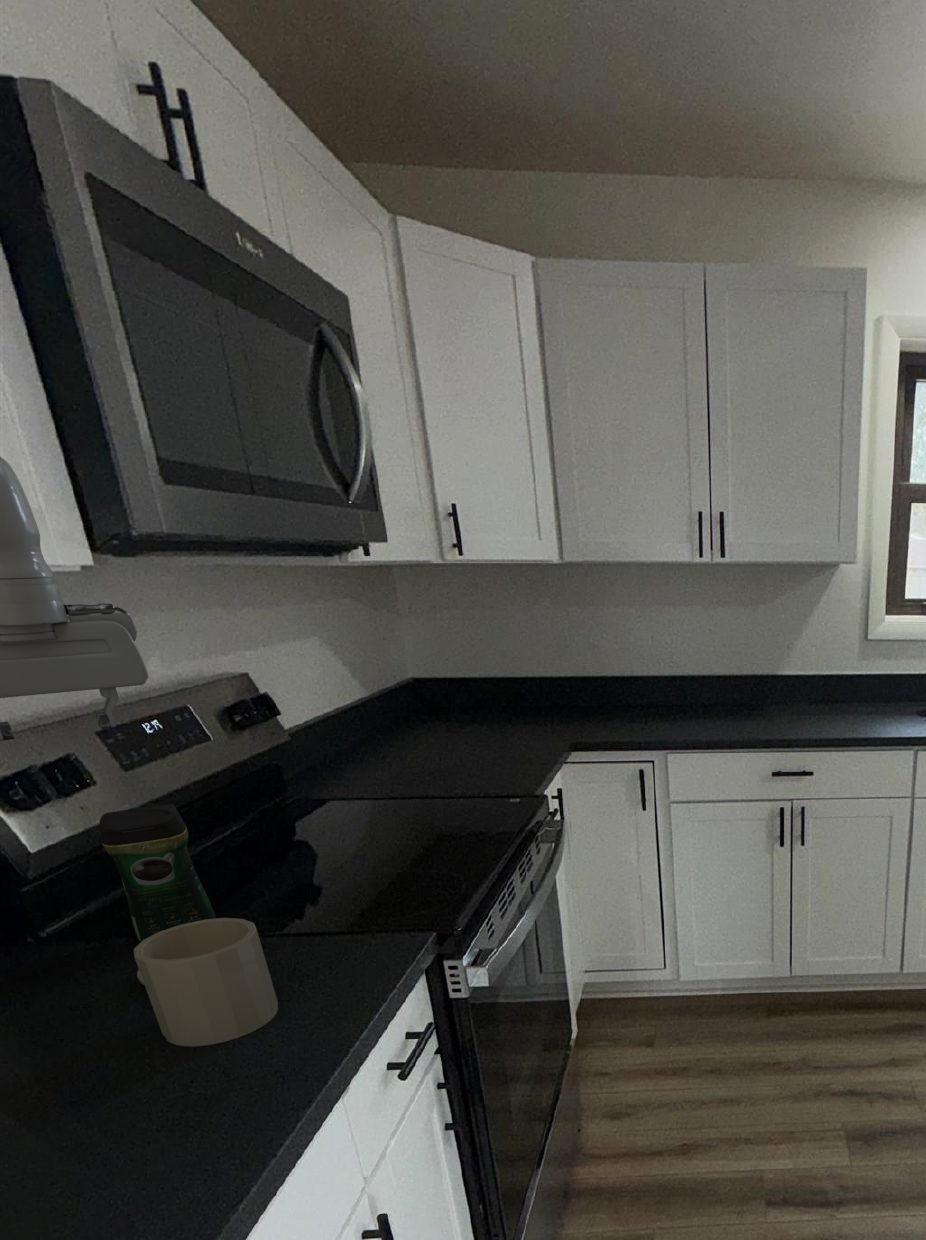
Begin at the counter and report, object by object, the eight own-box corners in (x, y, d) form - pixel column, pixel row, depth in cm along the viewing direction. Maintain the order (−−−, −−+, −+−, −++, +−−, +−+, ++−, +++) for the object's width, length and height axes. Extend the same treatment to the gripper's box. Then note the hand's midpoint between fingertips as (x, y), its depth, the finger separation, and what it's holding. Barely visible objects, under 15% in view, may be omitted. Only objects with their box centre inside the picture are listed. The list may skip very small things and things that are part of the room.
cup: (197, 1057, 91) (167, 971, 87) (143, 1029, 96) (112, 947, 92) (298, 1010, 100) (276, 931, 96) (244, 987, 106) (221, 910, 101)
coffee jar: (218, 916, 126) (181, 796, 118) (217, 935, 119) (178, 810, 112) (140, 930, 121) (96, 807, 113) (135, 951, 115) (89, 822, 107)
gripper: (122, 601, 100) (158, 717, 106) (-116, 610, 87) (-60, 742, 93) (133, 603, 96) (170, 724, 102) (-115, 613, 83) (-57, 751, 89)
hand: (58, 733), depth 97 cm, fingers open, 8 cm apart
